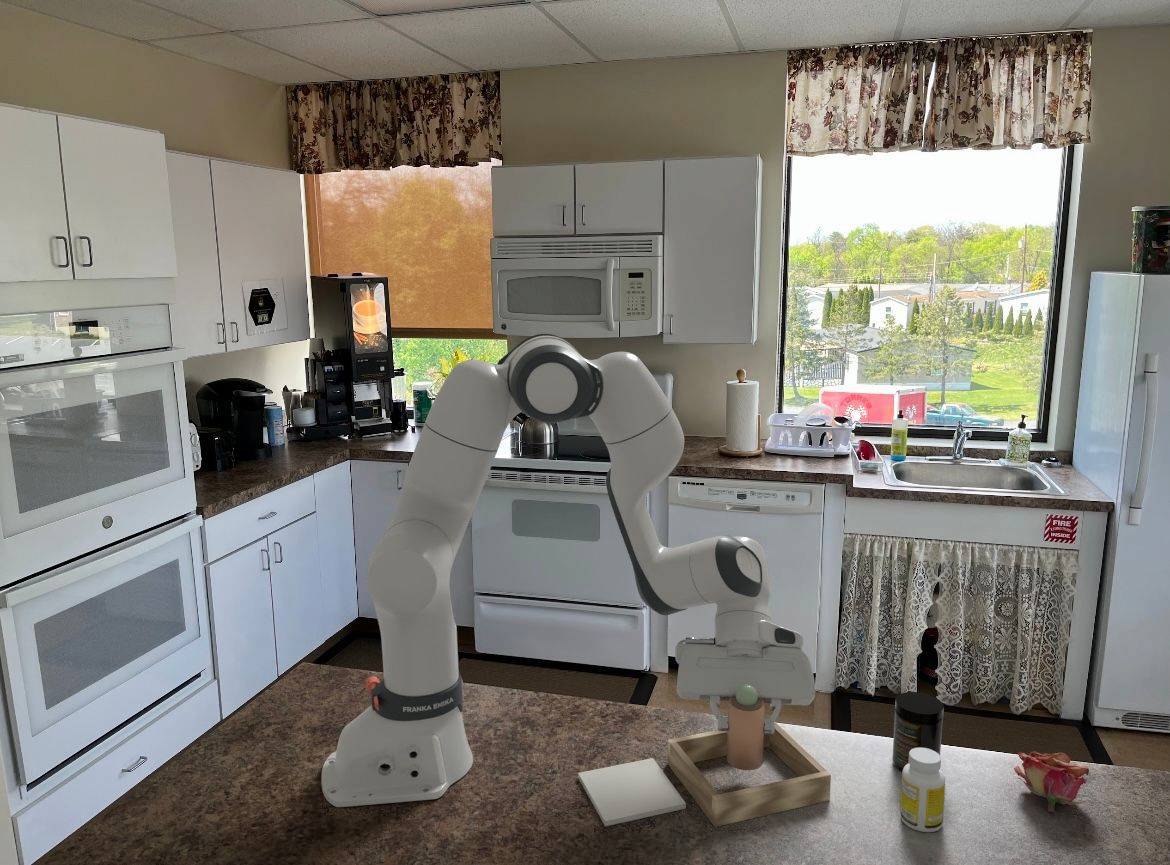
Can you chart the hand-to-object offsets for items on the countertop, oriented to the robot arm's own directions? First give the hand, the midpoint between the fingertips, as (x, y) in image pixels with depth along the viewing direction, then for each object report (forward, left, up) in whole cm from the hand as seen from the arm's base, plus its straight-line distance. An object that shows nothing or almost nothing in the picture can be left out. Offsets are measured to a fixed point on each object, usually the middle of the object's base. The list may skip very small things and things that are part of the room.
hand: (746, 731), depth 123 cm
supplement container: (+26, -5, -9) cm, 28 cm away
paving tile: (-17, +3, -8) cm, 19 cm away
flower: (+38, -18, -9) cm, 43 cm away
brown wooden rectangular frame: (0, 0, -8) cm, 8 cm away
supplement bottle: (+18, -16, -9) cm, 26 cm away
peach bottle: (0, +1, -5) cm, 5 cm away
